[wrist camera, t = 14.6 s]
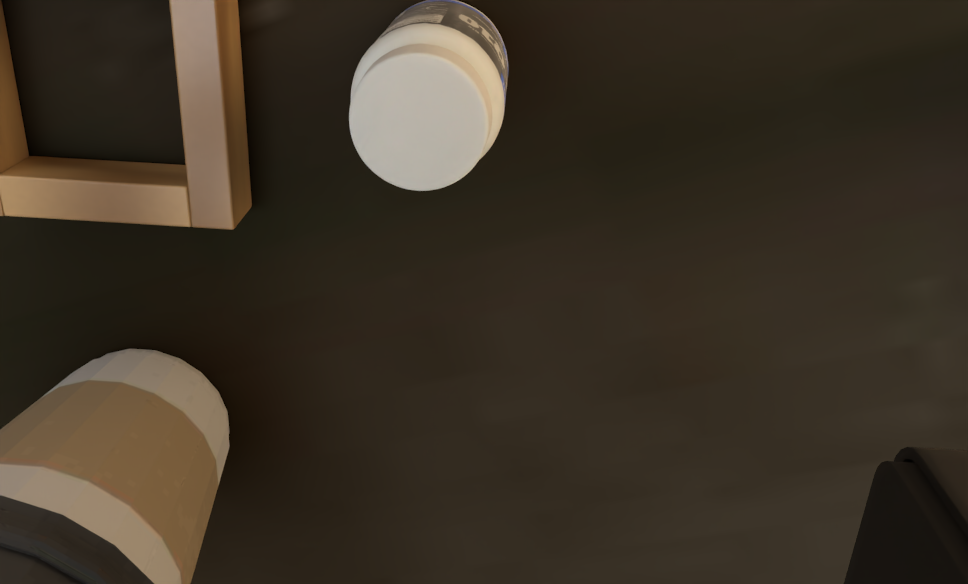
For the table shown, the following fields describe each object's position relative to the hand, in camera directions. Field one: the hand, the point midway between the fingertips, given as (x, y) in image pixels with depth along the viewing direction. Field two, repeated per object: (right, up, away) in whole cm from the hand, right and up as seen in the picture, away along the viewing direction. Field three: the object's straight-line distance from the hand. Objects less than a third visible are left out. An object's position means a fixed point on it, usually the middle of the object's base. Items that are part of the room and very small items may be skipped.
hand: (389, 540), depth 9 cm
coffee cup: (-14, -3, +31) cm, 34 cm away
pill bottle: (-1, +11, +24) cm, 26 cm away
